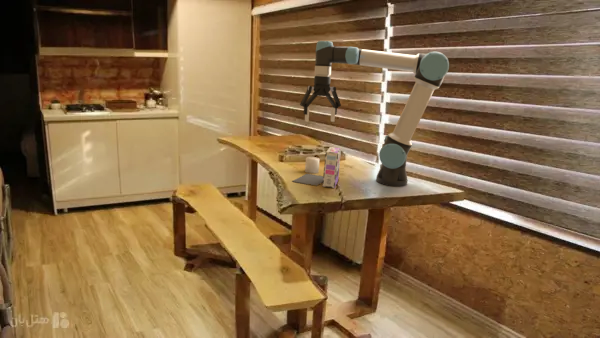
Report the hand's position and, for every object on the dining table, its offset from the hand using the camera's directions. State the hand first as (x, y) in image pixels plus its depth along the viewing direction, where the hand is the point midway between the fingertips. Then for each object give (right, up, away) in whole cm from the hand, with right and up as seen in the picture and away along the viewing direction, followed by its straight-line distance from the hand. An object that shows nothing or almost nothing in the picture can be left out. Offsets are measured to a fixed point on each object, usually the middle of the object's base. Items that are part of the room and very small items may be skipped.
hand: (319, 121), depth 218 cm
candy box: (+5, -30, -2) cm, 30 cm away
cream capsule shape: (-3, -24, +19) cm, 30 cm away
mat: (-4, -28, +2) cm, 28 cm away
